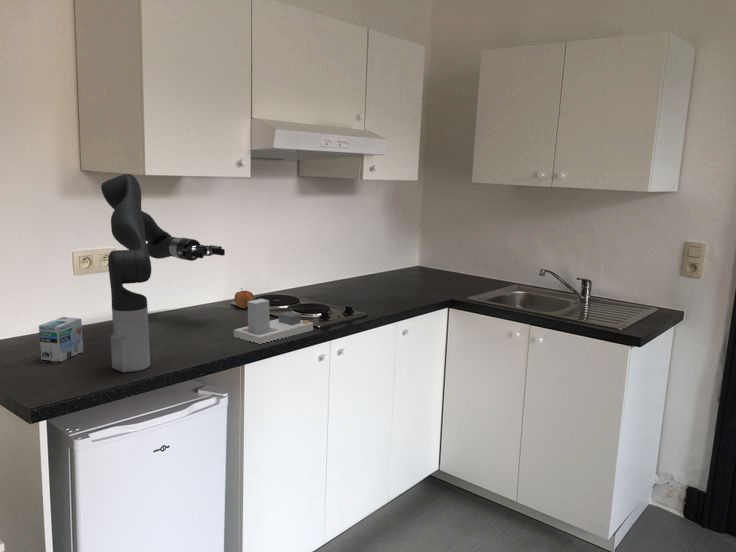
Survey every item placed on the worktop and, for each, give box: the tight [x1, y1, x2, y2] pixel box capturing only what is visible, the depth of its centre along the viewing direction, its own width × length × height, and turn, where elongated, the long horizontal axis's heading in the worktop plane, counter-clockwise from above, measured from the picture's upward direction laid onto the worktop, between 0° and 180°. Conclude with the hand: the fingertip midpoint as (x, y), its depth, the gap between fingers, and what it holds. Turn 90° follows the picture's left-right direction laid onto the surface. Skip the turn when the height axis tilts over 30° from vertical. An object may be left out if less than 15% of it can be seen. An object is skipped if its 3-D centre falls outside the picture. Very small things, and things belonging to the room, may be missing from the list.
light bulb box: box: [38, 316, 84, 362], centre depth 182 cm, size 11×7×11 cm, turn 170°
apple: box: [234, 287, 254, 310], centre depth 245 cm, size 7×7×8 cm
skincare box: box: [247, 298, 271, 335], centre depth 205 cm, size 6×4×12 cm
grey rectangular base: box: [233, 311, 314, 345], centre depth 211 cm, size 24×13×6 cm, turn 140°
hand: (213, 253), depth 207 cm, fingers open, 8 cm apart
